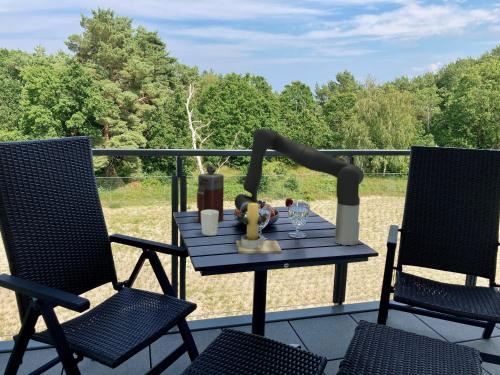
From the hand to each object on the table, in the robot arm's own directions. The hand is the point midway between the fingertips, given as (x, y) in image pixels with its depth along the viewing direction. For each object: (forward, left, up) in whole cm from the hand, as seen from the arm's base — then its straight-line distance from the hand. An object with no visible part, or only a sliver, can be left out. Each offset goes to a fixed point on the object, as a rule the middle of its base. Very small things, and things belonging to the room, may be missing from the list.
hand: (253, 222), depth 172 cm
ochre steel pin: (0, -3, -9) cm, 9 cm away
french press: (+17, -42, -12) cm, 46 cm away
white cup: (+17, -23, -12) cm, 31 cm away
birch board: (-3, -3, -11) cm, 12 cm away
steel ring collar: (0, -3, -10) cm, 11 cm away
